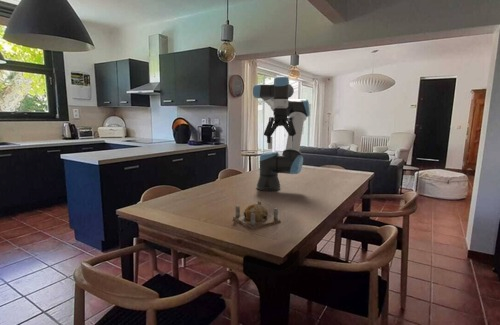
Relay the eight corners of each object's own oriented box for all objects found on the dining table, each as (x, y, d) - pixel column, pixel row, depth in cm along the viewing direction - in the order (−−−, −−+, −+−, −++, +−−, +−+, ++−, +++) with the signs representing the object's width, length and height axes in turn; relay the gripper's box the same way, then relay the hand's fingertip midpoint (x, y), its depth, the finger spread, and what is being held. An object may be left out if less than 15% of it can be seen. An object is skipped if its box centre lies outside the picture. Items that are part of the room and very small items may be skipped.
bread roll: (255, 231, 119) (263, 216, 116) (237, 217, 123) (244, 202, 120) (267, 223, 127) (274, 209, 124) (249, 210, 131) (256, 196, 128)
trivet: (233, 219, 126) (233, 205, 125) (260, 213, 134) (260, 200, 133) (252, 230, 114) (252, 215, 113) (280, 222, 122) (280, 208, 121)
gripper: (266, 107, 136) (265, 150, 140) (303, 108, 150) (302, 147, 153) (257, 107, 142) (256, 149, 146) (293, 108, 156) (292, 146, 160)
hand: (280, 148), depth 150 cm, fingers open, 13 cm apart
